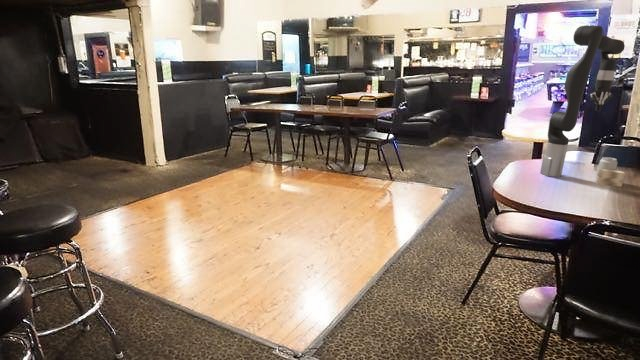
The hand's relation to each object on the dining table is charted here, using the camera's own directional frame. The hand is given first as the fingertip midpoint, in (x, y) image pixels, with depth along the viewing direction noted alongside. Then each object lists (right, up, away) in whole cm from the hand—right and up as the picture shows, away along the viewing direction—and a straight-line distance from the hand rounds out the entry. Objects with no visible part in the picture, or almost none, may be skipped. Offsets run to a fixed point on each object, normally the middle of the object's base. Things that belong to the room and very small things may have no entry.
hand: (597, 111), depth 232 cm
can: (-8, -39, -17) cm, 44 cm away
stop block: (-10, -41, -23) cm, 48 cm away
